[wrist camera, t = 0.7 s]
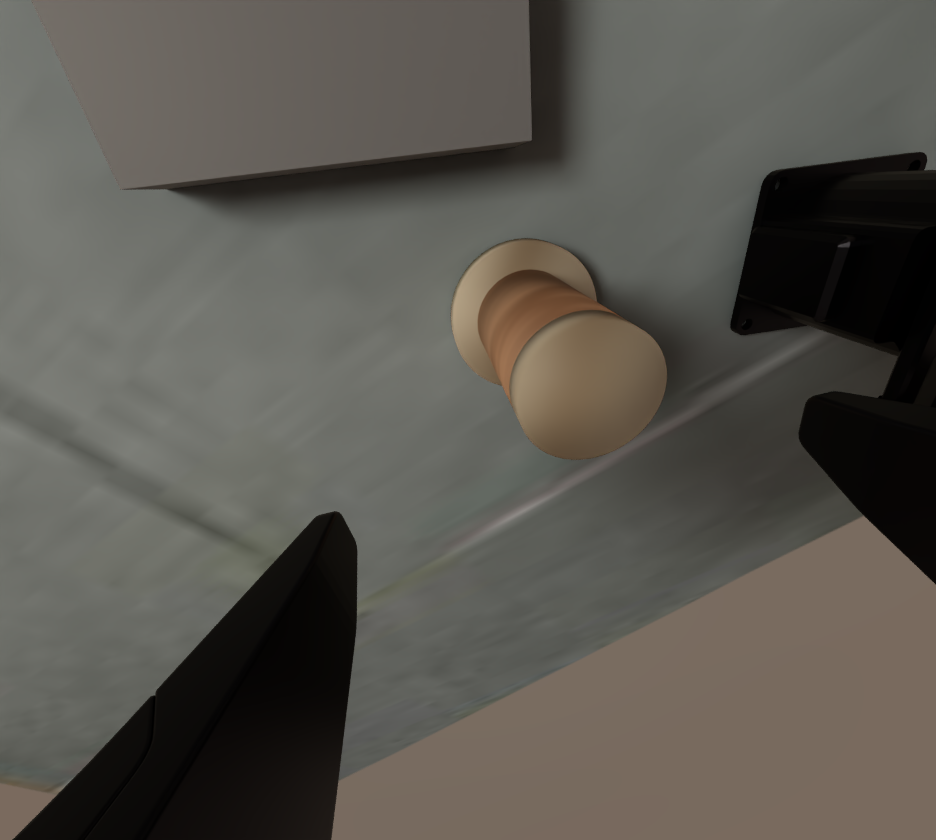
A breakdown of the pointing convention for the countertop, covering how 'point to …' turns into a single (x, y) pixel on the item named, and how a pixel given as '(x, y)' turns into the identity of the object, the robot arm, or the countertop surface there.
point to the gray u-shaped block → (291, 83)
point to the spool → (556, 349)
